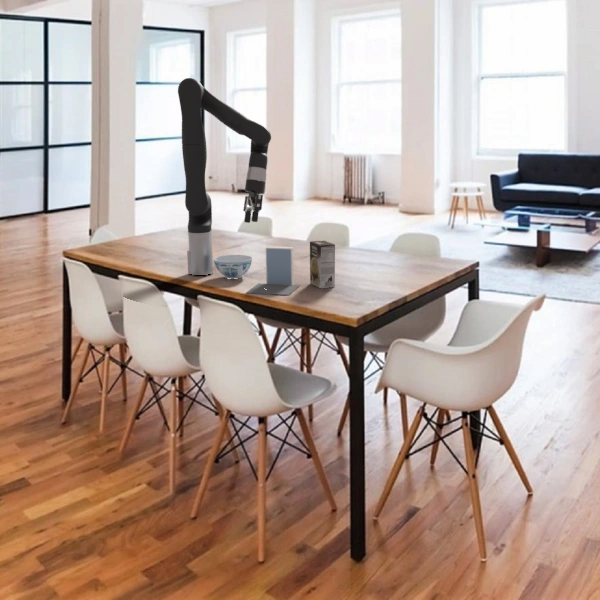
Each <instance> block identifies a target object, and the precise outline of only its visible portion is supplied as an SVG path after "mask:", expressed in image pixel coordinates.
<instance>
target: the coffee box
mask: <svg viewBox="0 0 600 600" xmlns="http://www.w3.org/2000/svg"><path fill="white" fill-rule="evenodd" d="M309 273H310V274H309V283H310V285H312V286H315V287H316V288H318V289H320V288H321V289H329V287H330V288H335V286H336V284H335V282H336V281H335V280H336V278H335V277H336V244H334V243H332V242H329V241H326V240H313V241H309Z"/></svg>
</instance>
